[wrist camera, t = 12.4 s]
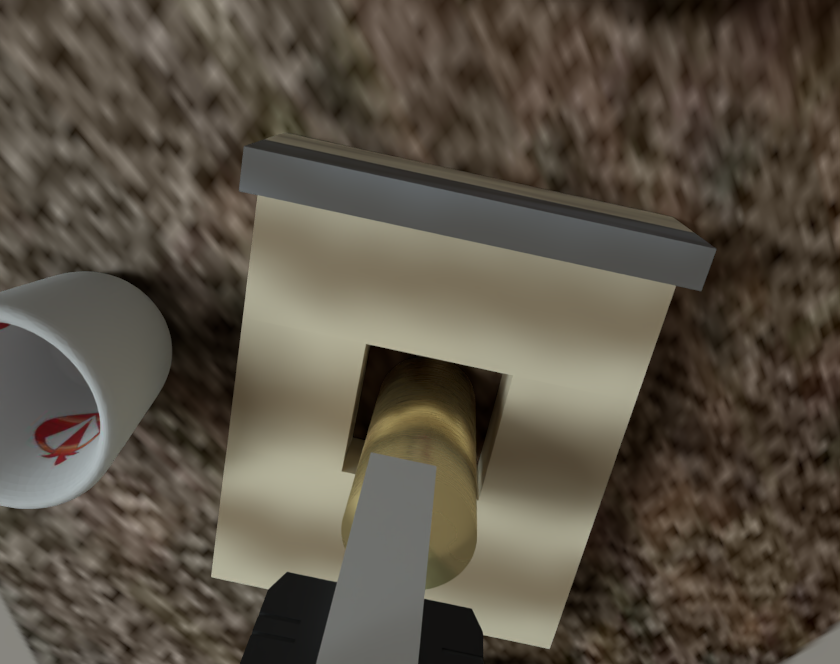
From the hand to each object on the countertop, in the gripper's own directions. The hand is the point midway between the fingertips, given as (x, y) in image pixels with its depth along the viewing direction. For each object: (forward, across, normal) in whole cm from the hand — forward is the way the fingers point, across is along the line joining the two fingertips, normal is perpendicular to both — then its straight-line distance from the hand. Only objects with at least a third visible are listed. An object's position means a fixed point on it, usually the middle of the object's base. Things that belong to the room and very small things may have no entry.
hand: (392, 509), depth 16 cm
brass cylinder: (+15, +1, -5) cm, 16 cm away
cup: (+16, -15, -6) cm, 22 cm away
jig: (+15, +1, -5) cm, 16 cm away
